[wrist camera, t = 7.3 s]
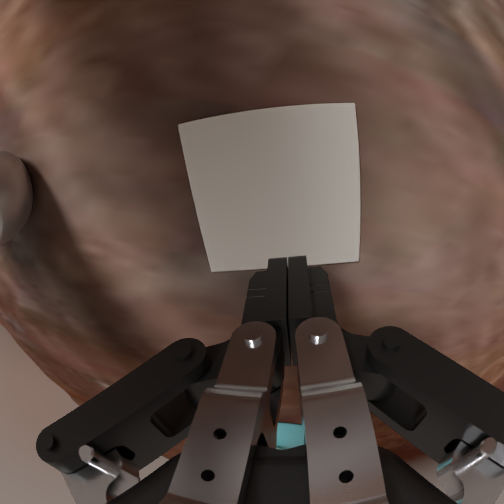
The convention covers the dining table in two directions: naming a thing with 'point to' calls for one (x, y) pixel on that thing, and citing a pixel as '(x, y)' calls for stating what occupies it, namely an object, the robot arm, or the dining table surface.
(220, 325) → the dining table surface
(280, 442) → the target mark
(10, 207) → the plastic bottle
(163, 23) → the dining table surface
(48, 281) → the dining table surface
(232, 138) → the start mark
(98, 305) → the dining table surface
